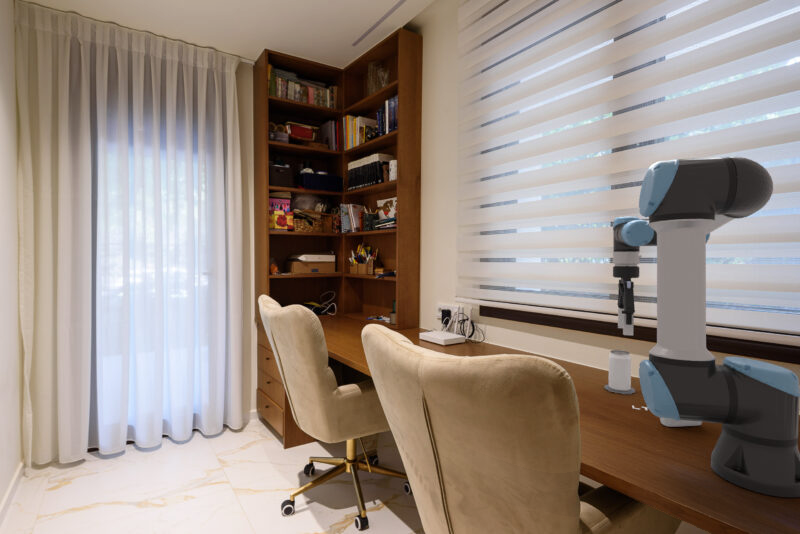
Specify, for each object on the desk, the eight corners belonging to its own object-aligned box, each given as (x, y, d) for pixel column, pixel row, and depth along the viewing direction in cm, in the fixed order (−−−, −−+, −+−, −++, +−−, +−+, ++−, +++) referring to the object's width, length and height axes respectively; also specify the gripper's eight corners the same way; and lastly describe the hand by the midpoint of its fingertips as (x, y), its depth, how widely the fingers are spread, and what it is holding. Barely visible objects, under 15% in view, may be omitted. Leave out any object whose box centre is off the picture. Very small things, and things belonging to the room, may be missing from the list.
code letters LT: (650, 410, 122) (650, 410, 122) (633, 408, 123) (633, 408, 123) (649, 407, 124) (649, 407, 124) (631, 405, 126) (631, 405, 126)
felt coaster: (637, 395, 134) (637, 394, 134) (605, 392, 138) (605, 390, 138) (633, 387, 143) (633, 385, 143) (603, 384, 146) (603, 382, 146)
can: (610, 390, 138) (610, 353, 137) (606, 384, 144) (607, 349, 144) (632, 392, 136) (633, 355, 135) (628, 386, 142) (628, 350, 142)
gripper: (646, 266, 124) (645, 339, 125) (633, 264, 147) (632, 326, 148) (617, 266, 127) (616, 337, 127) (609, 264, 150) (608, 324, 151)
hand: (625, 331), depth 138 cm, fingers open, 13 cm apart
